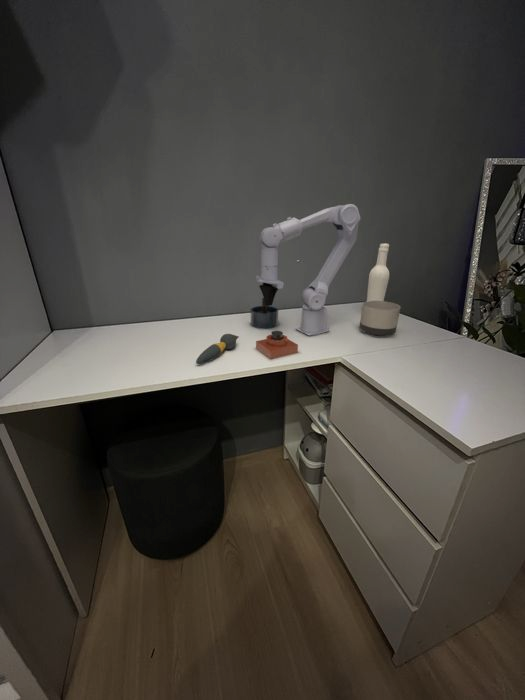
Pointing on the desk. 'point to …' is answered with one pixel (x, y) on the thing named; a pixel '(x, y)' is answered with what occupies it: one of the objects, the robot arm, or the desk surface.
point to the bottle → (379, 276)
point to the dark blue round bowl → (264, 317)
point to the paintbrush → (217, 348)
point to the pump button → (276, 335)
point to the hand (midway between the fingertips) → (268, 305)
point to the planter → (379, 318)
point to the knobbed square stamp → (276, 347)
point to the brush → (264, 307)
